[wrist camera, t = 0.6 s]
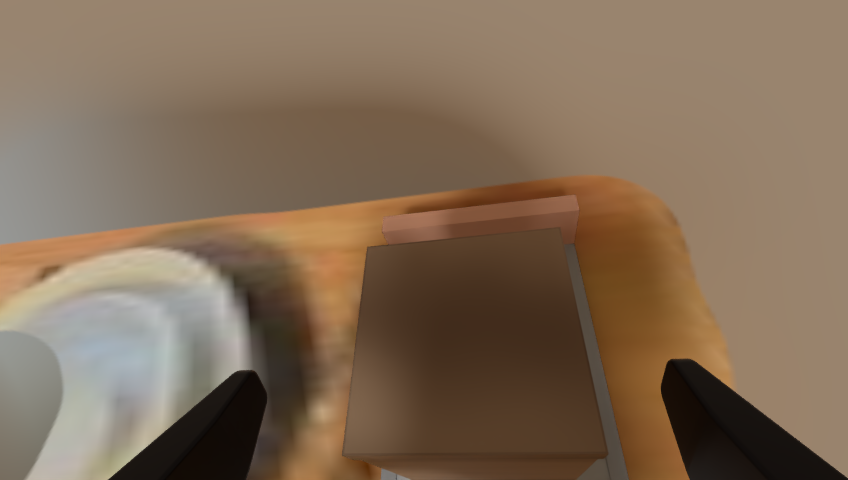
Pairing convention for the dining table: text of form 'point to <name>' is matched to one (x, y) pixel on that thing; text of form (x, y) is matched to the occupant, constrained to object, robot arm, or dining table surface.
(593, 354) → the bay
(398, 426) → the brown wooden block
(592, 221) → the dining table surface
